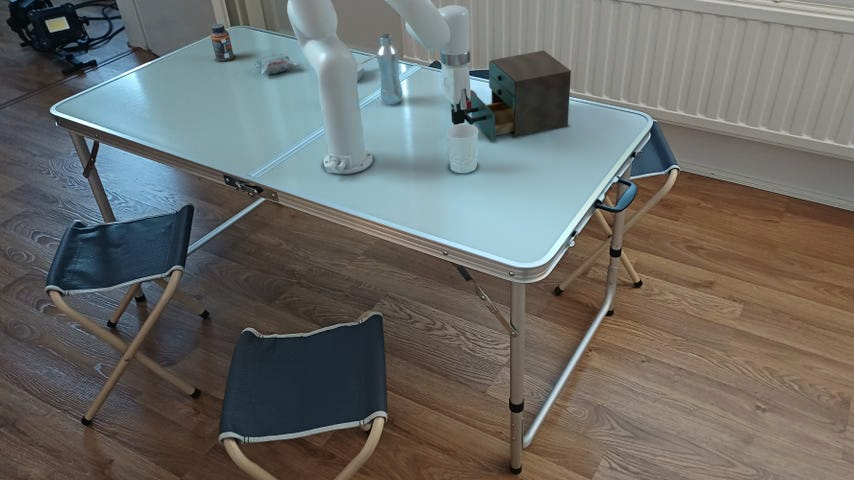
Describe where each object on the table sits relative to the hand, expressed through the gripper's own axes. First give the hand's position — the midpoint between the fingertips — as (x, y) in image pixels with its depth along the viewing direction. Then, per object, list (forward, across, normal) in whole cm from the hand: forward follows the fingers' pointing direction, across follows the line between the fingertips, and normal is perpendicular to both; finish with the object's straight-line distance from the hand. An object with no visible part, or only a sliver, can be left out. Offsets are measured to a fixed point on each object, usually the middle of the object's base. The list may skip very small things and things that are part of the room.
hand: (458, 122), depth 196 cm
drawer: (+3, 0, +12) cm, 12 cm away
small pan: (+4, -53, -15) cm, 55 cm away
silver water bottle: (+4, -28, -10) cm, 30 cm away
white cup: (+4, +17, -5) cm, 18 cm away
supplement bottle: (+4, -87, -52) cm, 101 cm away
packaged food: (+4, -67, -38) cm, 77 cm away
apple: (+4, -14, +8) cm, 17 cm away
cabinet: (+4, 0, +21) cm, 22 cm away
